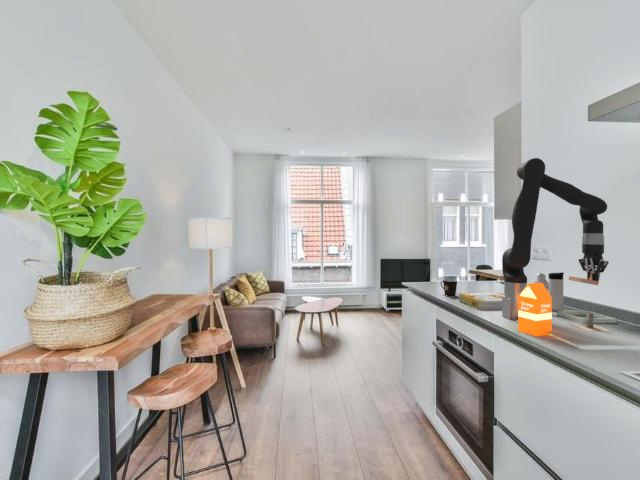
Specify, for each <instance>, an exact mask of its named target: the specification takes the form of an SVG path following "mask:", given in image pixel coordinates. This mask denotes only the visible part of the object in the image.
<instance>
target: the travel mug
mask: <svg viewBox="0 0 640 480" xmlns="http://www.w3.org/2000/svg"><path fill="white" fill-rule="evenodd" d="M564 275H565V273H564V272H550V273H548V280H547V282H548V283H549V289H548V293H549V294H550V296H551V297H552V312H556V313H557V311H564Z"/></svg>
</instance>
